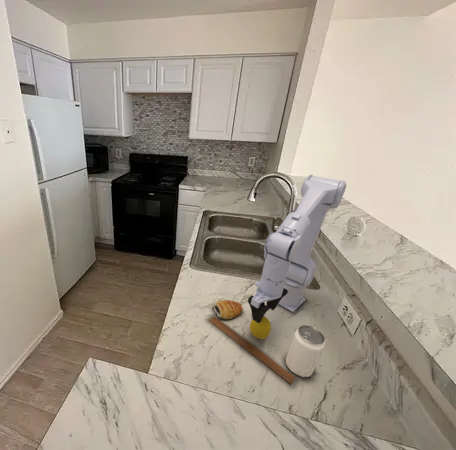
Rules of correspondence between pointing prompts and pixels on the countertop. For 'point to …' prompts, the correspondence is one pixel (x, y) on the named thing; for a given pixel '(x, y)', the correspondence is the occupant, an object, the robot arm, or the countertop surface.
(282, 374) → the strip
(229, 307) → the pastry
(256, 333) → the lemon
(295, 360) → the can
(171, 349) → the countertop surface
